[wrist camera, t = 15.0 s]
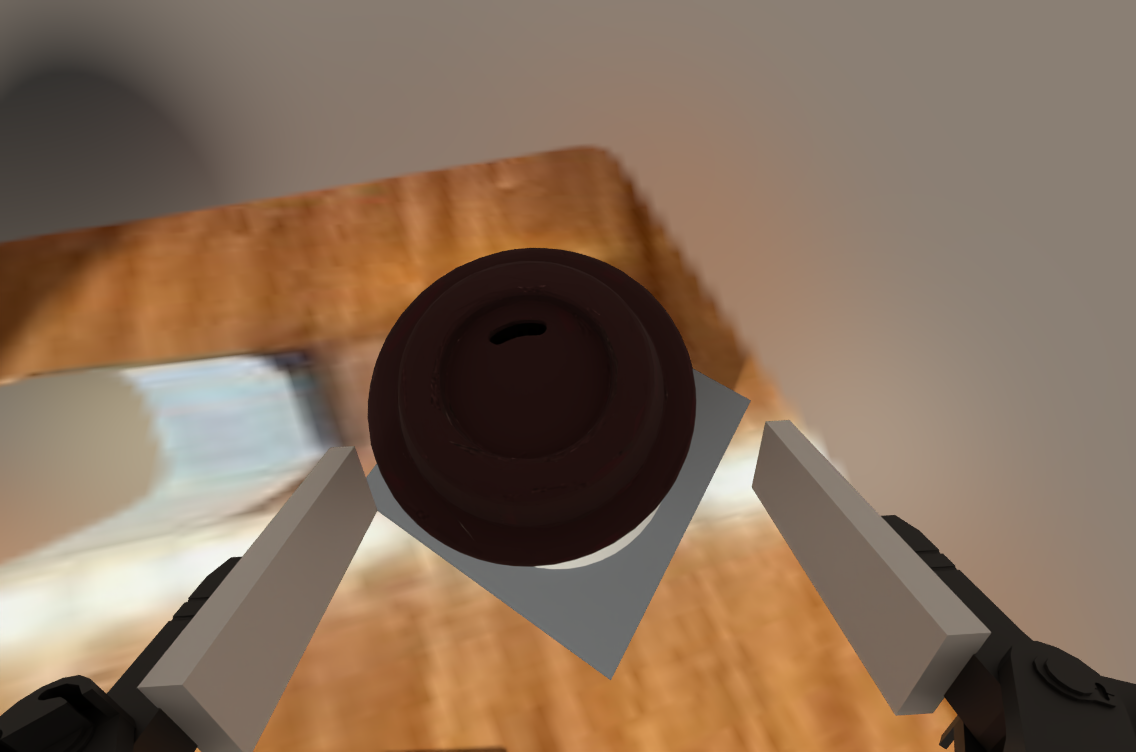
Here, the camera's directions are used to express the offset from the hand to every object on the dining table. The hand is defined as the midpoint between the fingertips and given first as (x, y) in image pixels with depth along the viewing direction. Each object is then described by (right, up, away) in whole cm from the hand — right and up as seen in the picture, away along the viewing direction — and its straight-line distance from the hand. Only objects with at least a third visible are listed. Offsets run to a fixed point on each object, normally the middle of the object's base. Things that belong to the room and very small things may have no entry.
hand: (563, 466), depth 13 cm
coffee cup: (-1, -1, +12) cm, 12 cm away
